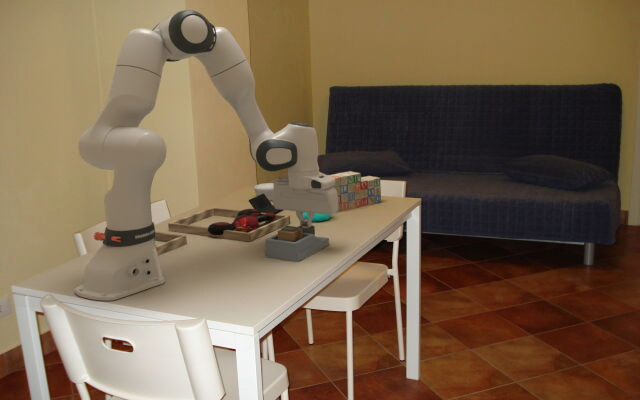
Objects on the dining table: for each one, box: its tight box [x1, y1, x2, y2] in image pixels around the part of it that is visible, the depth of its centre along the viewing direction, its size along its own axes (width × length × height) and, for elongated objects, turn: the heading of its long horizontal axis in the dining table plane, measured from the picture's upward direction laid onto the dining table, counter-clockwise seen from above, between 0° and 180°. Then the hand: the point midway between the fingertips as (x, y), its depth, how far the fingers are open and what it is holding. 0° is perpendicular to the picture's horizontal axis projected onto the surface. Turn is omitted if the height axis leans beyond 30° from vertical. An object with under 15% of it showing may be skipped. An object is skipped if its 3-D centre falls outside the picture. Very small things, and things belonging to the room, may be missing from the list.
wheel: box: [297, 224, 316, 235], centre depth 189 cm, size 5×5×3 cm
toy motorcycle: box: [208, 208, 276, 235], centre depth 210 cm, size 25×5×16 cm
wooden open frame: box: [167, 206, 291, 243], centre depth 213 cm, size 23×32×2 cm
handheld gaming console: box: [248, 193, 284, 214], centre depth 232 cm, size 12×7×10 cm
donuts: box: [303, 212, 332, 223], centre depth 219 cm, size 10×10×10 cm
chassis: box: [263, 233, 330, 262], centre depth 185 cm, size 17×11×5 cm, turn 150°
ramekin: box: [253, 182, 274, 202], centre depth 251 cm, size 11×11×5 cm
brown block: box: [277, 225, 303, 242], centre depth 182 cm, size 5×5×6 cm
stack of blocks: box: [326, 170, 382, 213], centre depth 235 cm, size 21×6×12 cm, turn 125°
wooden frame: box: [154, 230, 188, 256], centre depth 195 cm, size 15×19×2 cm
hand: (305, 226), depth 189 cm, fingers closed, pressing on wheel
